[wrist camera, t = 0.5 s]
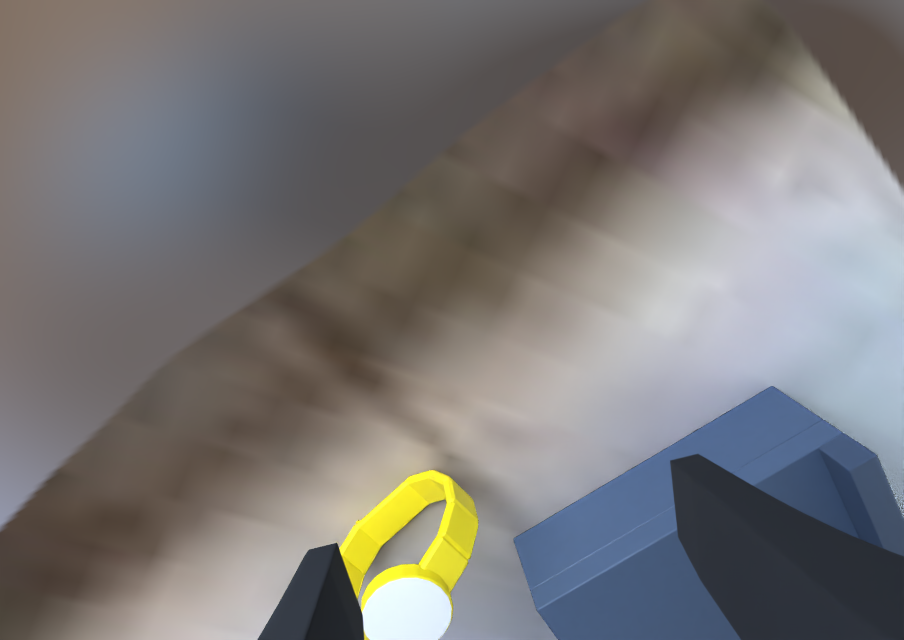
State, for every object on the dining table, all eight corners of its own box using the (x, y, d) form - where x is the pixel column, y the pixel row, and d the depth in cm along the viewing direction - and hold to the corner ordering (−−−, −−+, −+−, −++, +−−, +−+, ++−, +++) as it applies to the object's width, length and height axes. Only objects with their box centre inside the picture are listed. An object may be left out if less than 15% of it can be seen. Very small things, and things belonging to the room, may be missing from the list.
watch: (364, 573, 25) (361, 703, 20) (315, 532, 24) (297, 654, 19) (477, 481, 25) (508, 587, 19) (431, 435, 24) (448, 532, 18)
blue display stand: (638, 715, 29) (694, 844, 24) (512, 538, 26) (547, 644, 20) (866, 587, 29) (976, 690, 23) (772, 384, 25) (877, 454, 20)
